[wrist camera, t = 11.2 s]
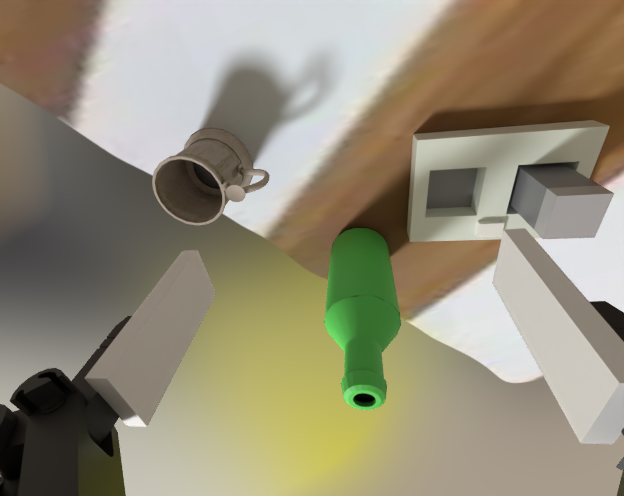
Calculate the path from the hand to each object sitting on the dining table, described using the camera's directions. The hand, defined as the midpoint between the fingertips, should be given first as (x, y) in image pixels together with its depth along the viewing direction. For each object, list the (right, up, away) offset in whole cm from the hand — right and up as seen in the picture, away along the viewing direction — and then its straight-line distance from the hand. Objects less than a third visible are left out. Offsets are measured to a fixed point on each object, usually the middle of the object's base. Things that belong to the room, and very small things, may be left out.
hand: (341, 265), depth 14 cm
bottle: (+6, +1, +36) cm, 36 cm away
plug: (+27, +9, +27) cm, 39 cm away
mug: (-12, +13, +30) cm, 35 cm away
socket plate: (+22, +9, +28) cm, 37 cm away
